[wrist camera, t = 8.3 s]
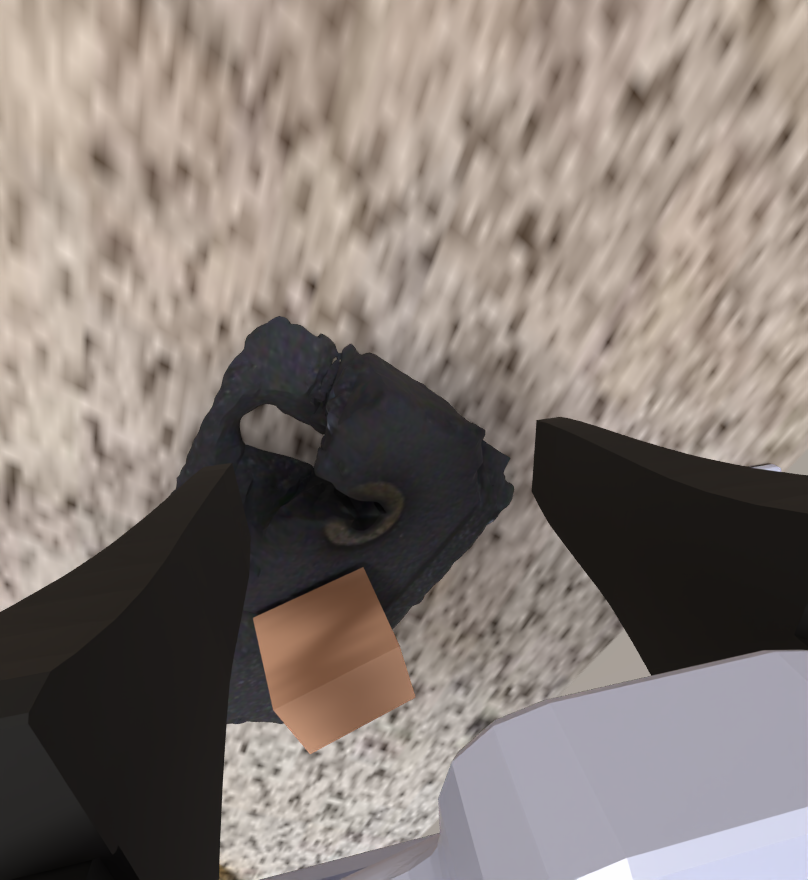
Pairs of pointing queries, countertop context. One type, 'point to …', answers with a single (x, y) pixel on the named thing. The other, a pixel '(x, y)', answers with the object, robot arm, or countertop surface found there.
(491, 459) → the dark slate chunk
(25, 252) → the countertop surface
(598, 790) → the robot arm
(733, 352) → the countertop surface
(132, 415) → the countertop surface
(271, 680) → the terracotta block
